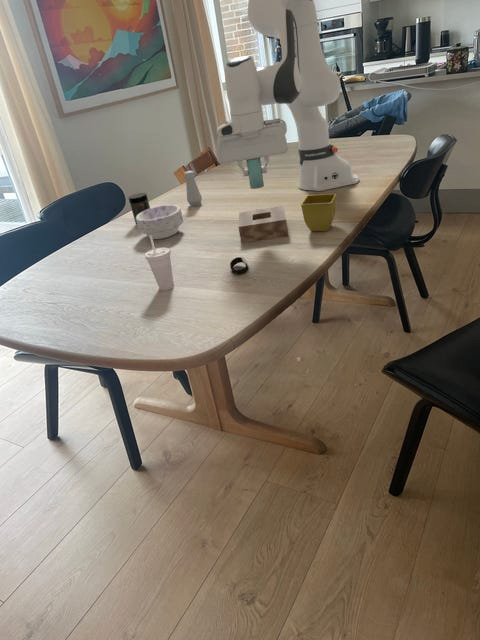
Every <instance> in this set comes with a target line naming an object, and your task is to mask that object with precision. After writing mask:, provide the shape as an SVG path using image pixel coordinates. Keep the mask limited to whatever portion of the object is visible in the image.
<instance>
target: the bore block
mask: <svg viewBox="0 0 480 640" xmlns="http://www.w3.org/2000/svg"><path fill="white" fill-rule="evenodd" d="M286 216H287V215H286V212H285V207H284V205H280V206H273V207H267V208H261V209H254V210H249V211H242V212H239V213H238V226H237V227H238V231H239V239H240V243H241V244H243V243H251V242H257V241H263V240H269V239H277V238H283V237H289V232H288V231H289V230H288V225H287V224H288V223H287V217H286Z"/></svg>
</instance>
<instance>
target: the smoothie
mask: <svg viewBox="0 0 480 640" xmlns="http://www.w3.org/2000/svg"><path fill="white" fill-rule="evenodd" d="M149 240H150V242H151V243H150V244H151V248H152V249H150V250H148V251H146V253H144V256H145V261H147V262H148V265H149V267H150V270H151V272H152V274H153V276H154V278H155V281H156V284H157V286H158V289H159V290H160V291H169V290H171V289H174V287H175V284H174V277H173V270H172V262H171V261H172V260H171V254H172V253H171V249H170V248H168V247H155V243H154V239H152V236H150V238H149Z"/></svg>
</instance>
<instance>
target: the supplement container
mask: <svg viewBox="0 0 480 640" xmlns="http://www.w3.org/2000/svg"><path fill="white" fill-rule="evenodd" d="M127 198H128V202H129V204H130V210H131V212H132V215H133V219H134V223H135V225H136V226H138V225H137V222H136V216H137V215H138V214H139V213H141V212H143V211H145V210H147V209H150V208H151V206H150V202H149V200H148V194H147V193H146V192H138V193H133V194H132V195H129V196H128V197H127Z"/></svg>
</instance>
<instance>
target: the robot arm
mask: <svg viewBox="0 0 480 640" xmlns="http://www.w3.org/2000/svg"><path fill="white" fill-rule="evenodd" d="M247 17H248V21H249V23H250V24H251V26H252V28H253V29H254V30H255V31H256V32H258V33H259V34H261V35H262V36H265V37H270V38H276V39H278V40H280V43H281V44H280V46H281V60H280V61H279V62H278V63H276V64H272V65H266V66H260V67H257V66H256V64H255V60H254V57H252V56H250V55H242V56H237V57H235V58H232V59H230V60H228V61H227V62H226V64H225V66H224V67H225V68H224V77H225V78H224V80H225V88H226V94H227V95H226V97H227V100H228V102H229V106H230V112H229V113H230V120H228V121H226V122H224V123H223V124H221V125H219V126H218V127H217V128H216V133H217V136H218V138H217V140H216V145H215V148H216V149H215V150H216V151H215V153H216V159H217V163H219V164H220V165H223V164H229V163H231V164H232V163H236V162H237V166H238V167H239V168H240V169H241V171H242V174H243V177H249V174H248V168H245V167H244V162H243V161H246V160H249V159H255V158H260V159H261V158H263V160H264V161H265V162H264V164H263V165H261V169H262V174H266V173H268V170H267V167H268V164H269V162H270V156H272V157H273V156H277V155H284V154H287V152H288V150H289V147H288V142H287V137H286V134H287V131H288V130H287V129H288V127H287V126H288V125H287V123H286V121H285V120H283V119H281V118H275V119H267V120H264V112H263V111H264V110H263V107H262V106H268V105H269V106H270V105H277V104H279V105H281V104H283V105H284V104H286V106H287V107H288V108H289V110H290V112H291V115H292V117H293V120H294V123H295V126H296V131H297V141H298V152H297V153H298V163H299V166H300V176H299V184H298V188H299V189H301V190H305V191H315V192H316V191H317V192H321V191H322V192H323V191H326V190H327V191H328V190H331V189H335V188H340V187H341V188H342V187H345V186H349V185H354V184H358V183H359V182H360V181H359V180H360V178H359V175H357V174H356V173H353V170H352V166H351V165H350V164H351V163H349V162H348V161H347V160H346V159H344V158H343V157H341V156H339V155H337V154H336V153H338V151H339V148H338V147H337V146H335V145H333V144H331V143H330V137H329V136H330V135H329V134H330V133H329V124H328V121H327V119H325V118H324V117H323V115H322V114H321V112H320V109H319V107H324V106H328V105H330V104H332V103H335V102H336V100H338V98H339V97H340V93H341V89H342V87H341V86H342V84H341V80H340V77H338V76H339V75H337V74H336V73H335V72H334V71H333V70H332V69H331V67H330V66H329V63H328V62H327V60H326V58H325V55H324V53H323V49H322V44H321V38H320V31H319V25H318V22H319V21H318V15H317V10H316V5H315V1H314V0H248V3H247Z"/></svg>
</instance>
